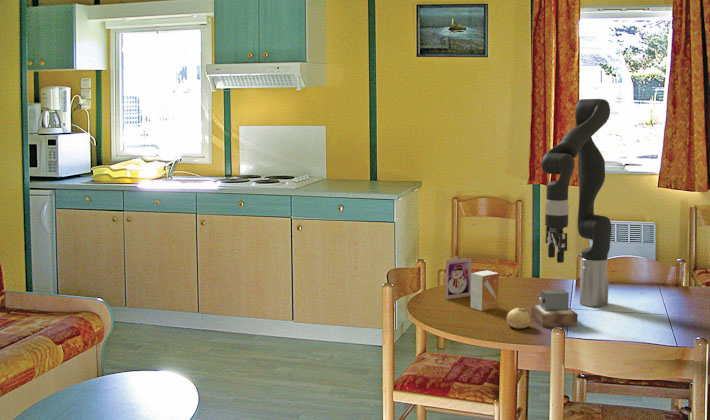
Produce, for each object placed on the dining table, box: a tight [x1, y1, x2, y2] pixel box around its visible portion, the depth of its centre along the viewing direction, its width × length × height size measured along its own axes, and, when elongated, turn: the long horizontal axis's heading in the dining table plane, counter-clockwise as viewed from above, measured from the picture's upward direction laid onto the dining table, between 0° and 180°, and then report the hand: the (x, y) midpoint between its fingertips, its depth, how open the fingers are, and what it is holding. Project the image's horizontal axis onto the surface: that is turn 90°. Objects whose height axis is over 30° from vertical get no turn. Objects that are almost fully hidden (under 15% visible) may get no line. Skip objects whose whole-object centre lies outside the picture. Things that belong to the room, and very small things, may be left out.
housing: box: [538, 289, 570, 311], centre depth 273 cm, size 9×5×6 cm, turn 96°
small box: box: [470, 269, 500, 312], centre depth 291 cm, size 8×6×13 cm
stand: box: [530, 304, 578, 328], centre depth 274 cm, size 12×12×4 cm
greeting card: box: [445, 255, 472, 300], centre depth 308 cm, size 11×7×15 cm, turn 115°
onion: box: [505, 306, 532, 330], centre depth 268 cm, size 8×8×7 cm
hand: (555, 259), depth 271 cm, fingers open, 8 cm apart
